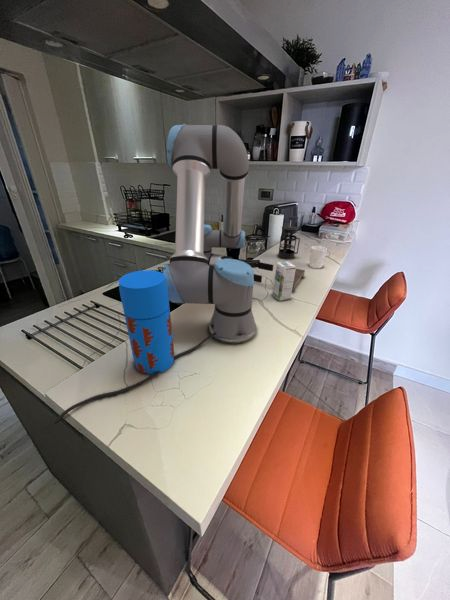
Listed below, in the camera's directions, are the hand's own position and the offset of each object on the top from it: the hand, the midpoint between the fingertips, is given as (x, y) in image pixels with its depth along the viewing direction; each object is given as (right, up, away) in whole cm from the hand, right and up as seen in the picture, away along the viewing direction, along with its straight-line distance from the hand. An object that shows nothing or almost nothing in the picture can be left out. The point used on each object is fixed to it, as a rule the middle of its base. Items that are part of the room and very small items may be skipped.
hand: (267, 273), depth 105 cm
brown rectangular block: (+13, -3, +14) cm, 19 cm away
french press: (+19, +14, +46) cm, 52 cm away
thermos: (-37, -28, -33) cm, 57 cm away
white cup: (+31, +7, +33) cm, 46 cm away
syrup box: (+6, -10, +1) cm, 12 cm away
